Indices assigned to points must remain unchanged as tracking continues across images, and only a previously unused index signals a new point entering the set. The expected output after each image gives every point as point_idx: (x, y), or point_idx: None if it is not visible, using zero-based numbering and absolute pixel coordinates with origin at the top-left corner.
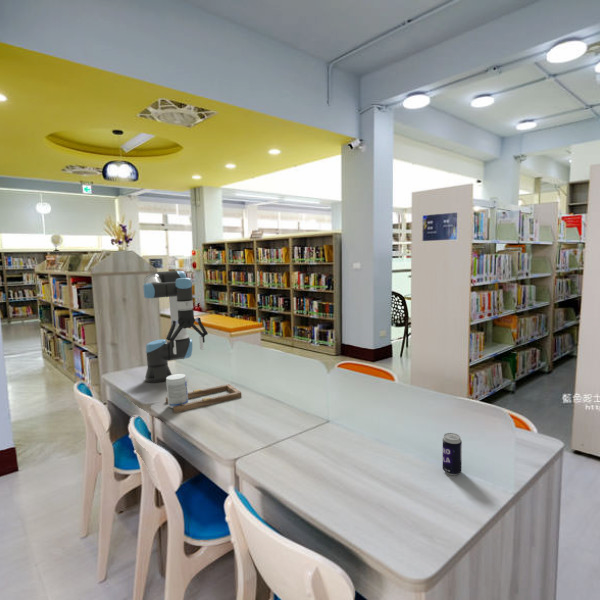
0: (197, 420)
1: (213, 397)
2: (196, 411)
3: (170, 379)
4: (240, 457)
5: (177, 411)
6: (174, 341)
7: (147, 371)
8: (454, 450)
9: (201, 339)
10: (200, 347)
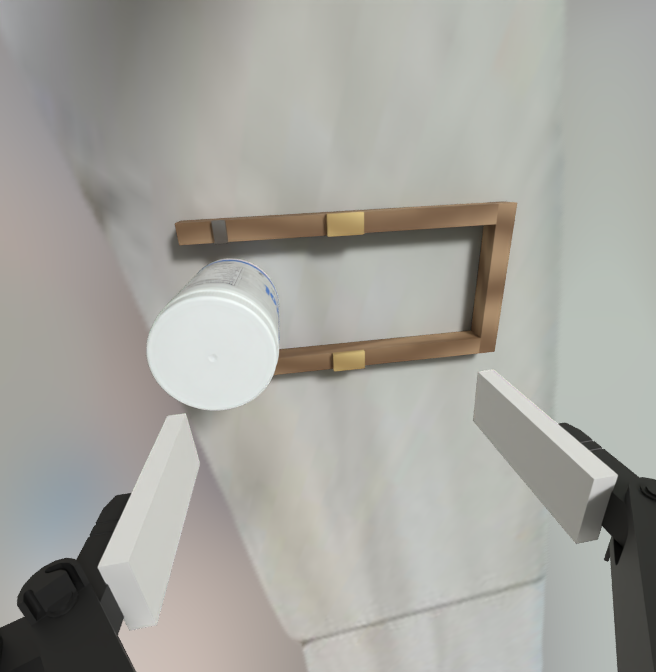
0: (276, 465)
1: (380, 350)
2: (290, 397)
3: (174, 397)
4: (314, 640)
5: None
6: (139, 622)
7: None
8: None
9: (552, 511)
10: (486, 394)
